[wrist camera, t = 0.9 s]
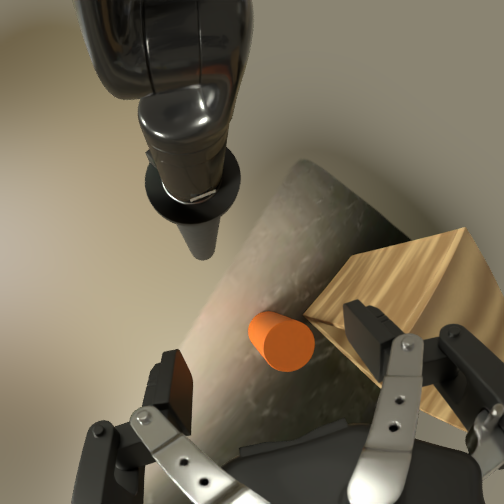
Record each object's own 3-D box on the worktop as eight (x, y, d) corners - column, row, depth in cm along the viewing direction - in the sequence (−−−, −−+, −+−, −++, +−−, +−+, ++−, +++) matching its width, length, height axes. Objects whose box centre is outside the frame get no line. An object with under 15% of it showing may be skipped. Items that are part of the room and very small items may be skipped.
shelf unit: (302, 314, 40) (403, 341, 17) (351, 255, 42) (465, 226, 19) (384, 392, 40) (481, 438, 18) (423, 337, 43) (525, 353, 20)
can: (239, 332, 38) (251, 349, 27) (267, 303, 39) (289, 308, 28) (268, 357, 38) (289, 381, 27) (295, 328, 39) (325, 342, 29)
